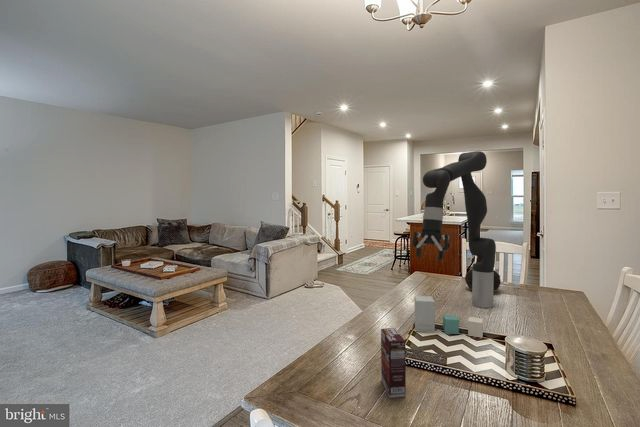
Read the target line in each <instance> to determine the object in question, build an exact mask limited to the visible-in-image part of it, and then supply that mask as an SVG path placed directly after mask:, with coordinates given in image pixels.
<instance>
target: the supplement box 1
mask: <svg viewBox="0 0 640 427" xmlns="http://www.w3.org/2000/svg"><path fill="white" fill-rule="evenodd" d="M406 347H407V346H406V340H405V339H404V337H403V336H402V335H401V334H400V332H399V331H398V330H397V327H389V328H388V327H387V328H381V329H380V349H381V350H380V356H381V357H380V359H381V360H380V361H381V362H380V363H381V367H380V368H381V373H380V374H381V377H380V378H381V379H380V380H381V382H382V384H383V387H384V388H385V390H386V393H387V394H388V397H389V399H392V398H393V399H394V398H404V397H406V396H407V395H406V394H407V392H406V391H407V389H406V380H407V378H406V377H407V376H406V371H407V369H406V355H407V354H406Z"/></svg>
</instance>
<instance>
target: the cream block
mask: <svg viewBox="0 0 640 427" xmlns="http://www.w3.org/2000/svg"><path fill="white" fill-rule="evenodd" d="M467 321H468V322H467V326H468V327H467V331H468V332H467V336H468V335H470V336H478V337H484V336H483V335H484V319H483V318H481V317H474V316H468V320H467ZM470 336H469V337H470Z"/></svg>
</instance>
